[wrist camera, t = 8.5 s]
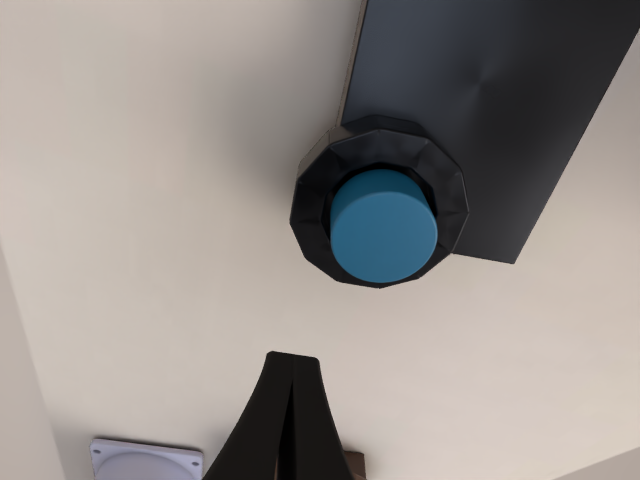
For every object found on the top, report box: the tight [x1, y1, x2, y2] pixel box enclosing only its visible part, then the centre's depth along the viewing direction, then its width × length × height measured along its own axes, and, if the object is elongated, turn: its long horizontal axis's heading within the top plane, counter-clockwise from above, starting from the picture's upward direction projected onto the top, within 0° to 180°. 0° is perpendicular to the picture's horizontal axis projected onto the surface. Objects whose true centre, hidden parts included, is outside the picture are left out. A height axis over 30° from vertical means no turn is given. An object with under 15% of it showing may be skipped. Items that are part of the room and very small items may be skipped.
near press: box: [290, 0, 640, 289], centre depth 15 cm, size 15×10×4 cm
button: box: [330, 169, 438, 283], centre depth 14 cm, size 4×4×2 cm
